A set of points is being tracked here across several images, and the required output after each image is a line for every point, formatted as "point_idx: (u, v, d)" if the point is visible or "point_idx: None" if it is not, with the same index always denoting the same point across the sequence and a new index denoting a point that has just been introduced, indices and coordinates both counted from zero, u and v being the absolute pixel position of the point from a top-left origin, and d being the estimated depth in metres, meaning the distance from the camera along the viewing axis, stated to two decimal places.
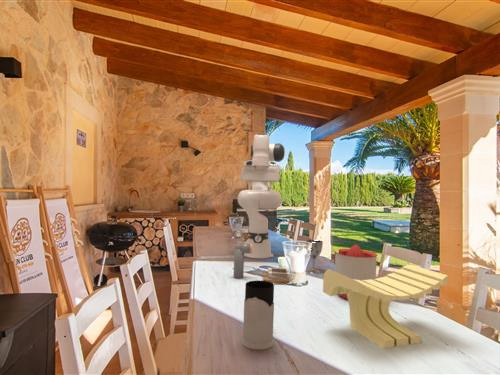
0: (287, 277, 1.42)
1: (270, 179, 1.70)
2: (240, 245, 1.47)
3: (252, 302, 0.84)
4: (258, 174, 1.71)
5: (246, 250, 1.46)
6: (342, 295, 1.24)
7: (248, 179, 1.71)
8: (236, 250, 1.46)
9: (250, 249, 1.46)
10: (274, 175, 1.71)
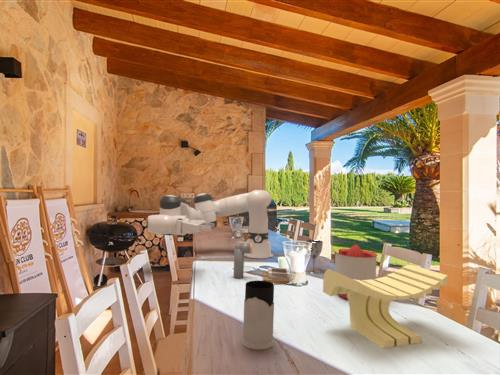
0: (287, 277, 1.42)
1: (202, 220, 1.54)
2: (240, 245, 1.47)
3: (252, 302, 0.84)
4: (194, 222, 1.48)
5: (246, 250, 1.46)
6: (342, 295, 1.24)
7: (198, 223, 1.43)
8: (236, 250, 1.46)
9: (250, 249, 1.46)
10: (198, 220, 1.56)
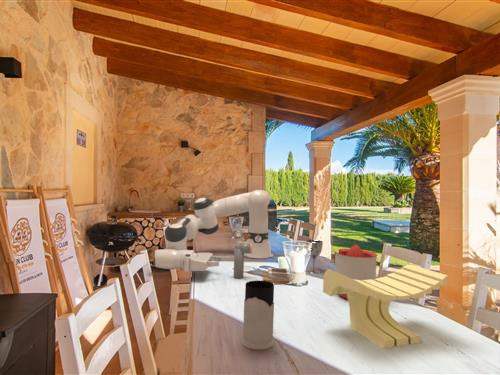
0: (287, 277, 1.42)
1: (209, 254, 1.54)
2: (240, 245, 1.47)
3: (252, 302, 0.84)
4: (202, 257, 1.47)
5: (246, 250, 1.46)
6: (342, 295, 1.24)
7: (206, 260, 1.42)
8: (236, 250, 1.46)
9: (250, 249, 1.46)
10: (205, 253, 1.56)
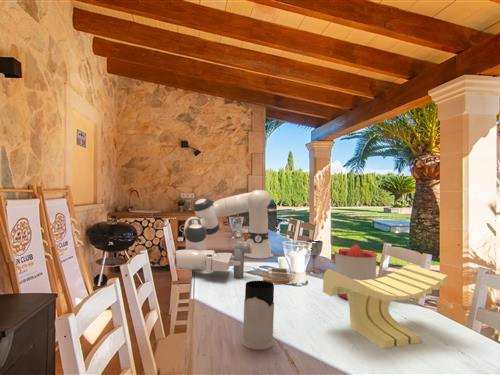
0: (287, 277, 1.42)
1: (229, 254, 1.54)
2: (240, 245, 1.47)
3: (252, 302, 0.84)
4: (223, 257, 1.48)
5: (246, 250, 1.46)
6: (342, 295, 1.24)
7: (228, 260, 1.42)
8: (236, 250, 1.46)
9: (250, 249, 1.46)
10: (225, 253, 1.56)
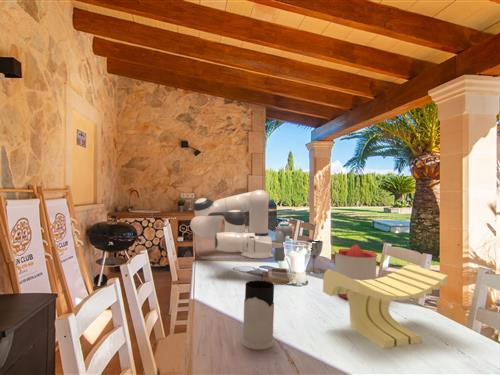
0: (287, 277, 1.42)
1: (269, 237, 1.52)
2: (282, 227, 1.45)
3: (252, 302, 0.84)
4: (264, 239, 1.46)
5: (288, 232, 1.44)
6: (342, 295, 1.24)
7: (270, 241, 1.41)
8: (278, 232, 1.45)
9: (292, 231, 1.44)
10: (264, 236, 1.54)
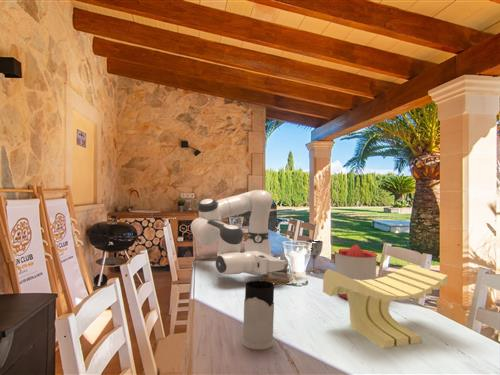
0: (287, 277, 1.42)
1: (264, 253, 1.49)
2: None
3: (252, 302, 0.84)
4: (267, 257, 1.42)
5: None
6: (342, 295, 1.24)
7: (278, 259, 1.39)
8: None
9: None
10: None
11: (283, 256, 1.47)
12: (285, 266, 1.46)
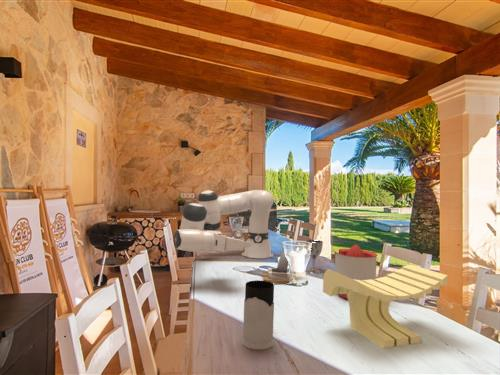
0: (287, 277, 1.42)
1: None
2: None
3: (252, 302, 0.84)
4: None
5: None
6: (342, 295, 1.24)
7: None
8: None
9: None
10: None
11: (283, 256, 1.47)
12: (285, 266, 1.46)
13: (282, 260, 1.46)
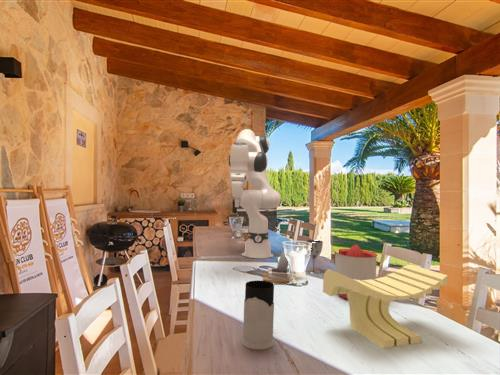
0: (287, 277, 1.42)
1: (242, 194, 1.61)
2: None
3: (252, 302, 0.84)
4: None
5: None
6: (342, 295, 1.24)
7: None
8: None
9: None
10: None
11: (283, 256, 1.47)
12: (285, 266, 1.46)
13: (282, 260, 1.46)
